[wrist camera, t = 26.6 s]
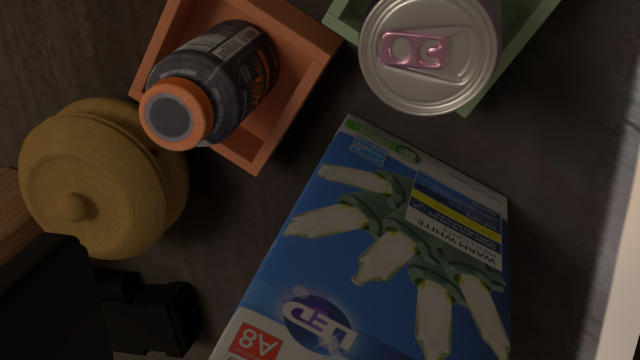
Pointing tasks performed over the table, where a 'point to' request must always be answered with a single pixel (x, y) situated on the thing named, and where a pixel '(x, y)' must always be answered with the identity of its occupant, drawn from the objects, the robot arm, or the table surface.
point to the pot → (102, 178)
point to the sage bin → (516, 17)
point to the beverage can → (429, 52)
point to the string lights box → (380, 263)
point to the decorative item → (14, 217)
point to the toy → (147, 315)
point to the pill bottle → (209, 86)
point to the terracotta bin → (294, 77)
